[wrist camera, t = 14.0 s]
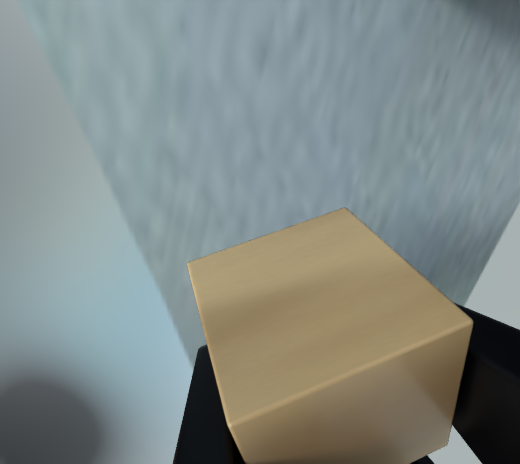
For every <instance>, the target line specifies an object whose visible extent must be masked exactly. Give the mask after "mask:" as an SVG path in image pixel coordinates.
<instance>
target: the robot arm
mask: <svg viewBox="0 0 520 464" xmlns="http://www.w3.org/2000/svg"><path fill="white" fill-rule="evenodd" d="M454 304H455V305H456V306H458V307H459V308H460V309H461V310H462V311H463V312H464V313H466V314H467V315H468V316H469V317H470V318H471V319H472V320H473V328H472V333H471V337H470V342H469V347H468V351H467V356H466V361H465V366H464V370H463V375H462V380H461V384H460V389H459V394H458V399H457V403H456V408H455V413H454V418H453V422H452V425H453V426H454V428H455V429H456V430H457V432H458V433H459V434H460V435H461V437H462V438H463V439H464V441H465V442H466V443H467V444H468V446H469V447H470V448H471V450H472V451H473V452H474V454H475V455H476V456H477V457H478V459H479V460H480V461H481V463H482V464H520V330H519V329H516V328H514V327H511V326H509V325H507V324H504V323H501V322H499V321H497V320H494V319H492V318H490V317H487V316H485V315H482V314H480V313H477V312H475V311H473V310H470V309H468V308H465V307H463V306H461V305H458V304H456V303H454ZM173 464H245V462H244V460H243V457H242V455H241V453H240V451H239V449H238V447H237V445H236V442H235V440H234V438H233V436H232V434H231V432H230V430H229V428H228V425H227V422H226V418H225V414H224V410H223V406H222V402H221V398H220V394H219V390H218V386H217V382H216V378H215V374H214V370H213V366H212V362H211V358H210V354H209V350H208V346H207V345H204V346H202V347H200V348H199V350H198V353H197V357H196V362H195V366H194V371H193V375H192V380H191V384H190V389H189V393H188V398H187V402H186V407H185V411H184V416H183V420H182V425H181V429H180V434H179V438H178V442H177V447H176V452H175V456H174V460H173ZM410 464H434V463H433V461H432V460H431V459H430V458H429V457H428V456H427V455H426V456H424V457H422V458H420V459H418V460H416V461H414V462H412V463H410Z"/></svg>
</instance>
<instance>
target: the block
mask: <svg viewBox="0 0 520 464" xmlns="http://www.w3.org/2000/svg"><path fill="white" fill-rule="evenodd" d="M187 266H188V270H189V274H190V278H191V282H192V286H193V290H194V294H195V298H196V302H197V306H198V310H199V314H200V318H201V322H202V326H203V330H204V334H205V338H206V342H207V346H208V350H209V354H210V358H211V362H212V366H213V370H214V374H215V378H216V382H217V386H218V390H219V394H220V398H221V402H222V406H223V410H224V414H225V418H226V422H227V425H228V428H229V430H230V432H231V434H232V436H233V438H234V440H235V442H236V445H237V447H238V449H239V451H240V453H241V455H242V457H243V460H244V462H245V464H410V463H412V462H414V461H416V460H418V459H420V458H422V457H424V456H426V455H428V454H430V453H432V452H434V451H436V450H438V449H440V448H442V447H445V446H447V444H448V441H449V436H450V432H451V427H452V422H453V418H454V413H455V408H456V403H457V399H458V394H459V389H460V384H461V380H462V375H463V370H464V366H465V361H466V356H467V351H468V347H469V342H470V337H471V333H472V328H473V320H472V319H471V318H470V317H469V316H468V315H467V314H466V313H464V312H463V311H462V310H461V309H460V308H459V307H458V306H456V305H455V304H454V303H453V302H452V301H451V300H450V299H449V298H447V297H446V296H445V295H444V294H443V293H442V292H441V291H440V290H438V289H437V288H436V287H435V286H434V285H433V284H432V283H431V282H429V281H428V280H427V279H426V278H425V277H424V276H423V275H421V274H420V273H419V272H418V271H417V270H416V269H415V268H414V267H412V266H411V265H410V264H409V263H408V262H407V261H406V260H405V259H403V258H402V257H401V256H400V255H399V254H398V253H397V252H396V251H394V250H393V249H392V248H391V247H390V246H389V245H388V244H386V243H385V242H384V241H383V240H382V239H381V238H380V237H379V236H377V235H376V234H375V233H374V232H373V231H372V230H371V229H370V228H368V227H367V226H366V225H365V224H364V223H363V222H362V221H361V220H359V219H358V218H357V217H356V216H355V215H354V214H353V213H351V212H350V211H349V210H348V209H347V208H341V209H339V210H336V211H333V212H330V213H327V214H324V215H321V216H319V217H316V218H313V219H310V220H307V221H304V222H301V223H299V224H296V225H293V226H290V227H287V228H284V229H281V230H279V231H276V232H273V233H270V234H267V235H264V236H261V237H259V238H256V239H253V240H250V241H247V242H244V243H241V244H239V245H236V246H233V247H230V248H227V249H224V250H221V251H219V252H216V253H213V254H210V255H207V256H204V257H202V258H199V259H196V260H193V261H190V262H188V264H187Z"/></svg>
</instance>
